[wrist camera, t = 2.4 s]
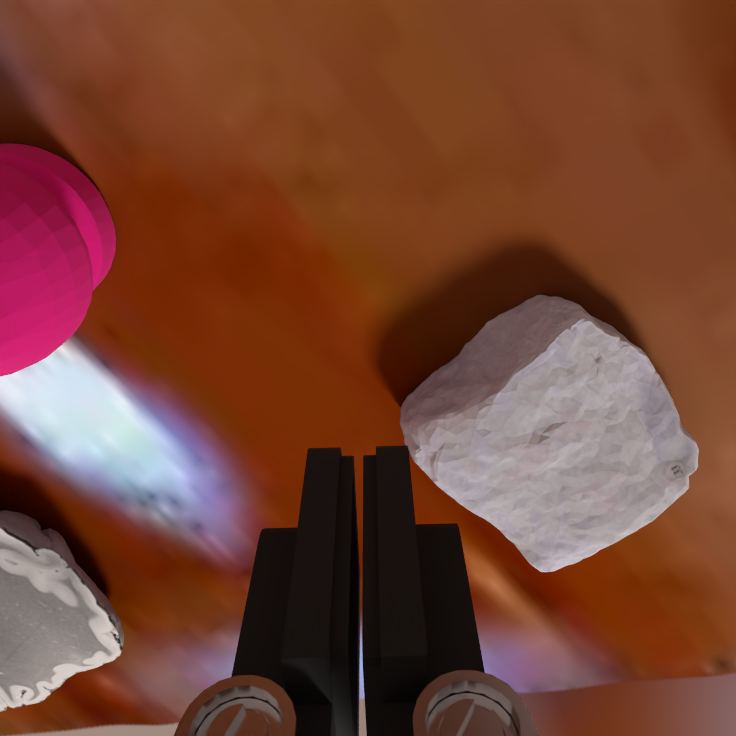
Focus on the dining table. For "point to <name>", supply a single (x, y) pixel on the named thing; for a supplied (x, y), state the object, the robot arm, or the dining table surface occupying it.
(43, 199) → the pepper mill
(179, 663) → the dining table surface
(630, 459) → the stone block
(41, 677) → the brain slice
